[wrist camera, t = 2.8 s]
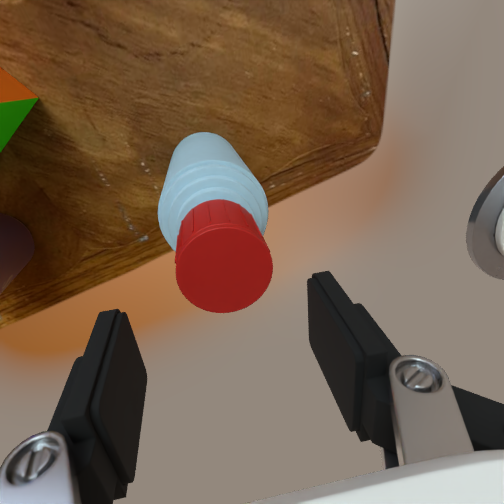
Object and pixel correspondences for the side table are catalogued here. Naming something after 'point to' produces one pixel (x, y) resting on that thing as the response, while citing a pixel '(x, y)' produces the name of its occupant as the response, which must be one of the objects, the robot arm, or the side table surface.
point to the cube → (13, 105)
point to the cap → (221, 257)
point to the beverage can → (13, 249)
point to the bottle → (207, 182)
